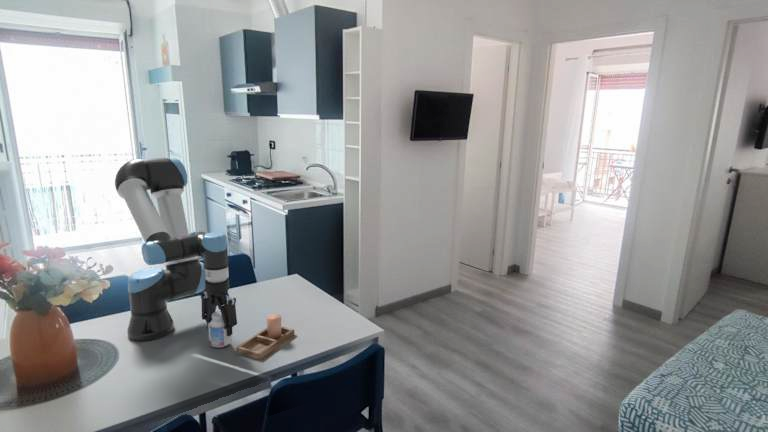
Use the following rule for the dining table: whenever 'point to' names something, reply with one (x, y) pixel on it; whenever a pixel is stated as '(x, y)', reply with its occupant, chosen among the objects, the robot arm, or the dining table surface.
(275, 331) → the peach capsule shape
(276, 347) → the rack
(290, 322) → the dining table surface
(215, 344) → the pill bottle
